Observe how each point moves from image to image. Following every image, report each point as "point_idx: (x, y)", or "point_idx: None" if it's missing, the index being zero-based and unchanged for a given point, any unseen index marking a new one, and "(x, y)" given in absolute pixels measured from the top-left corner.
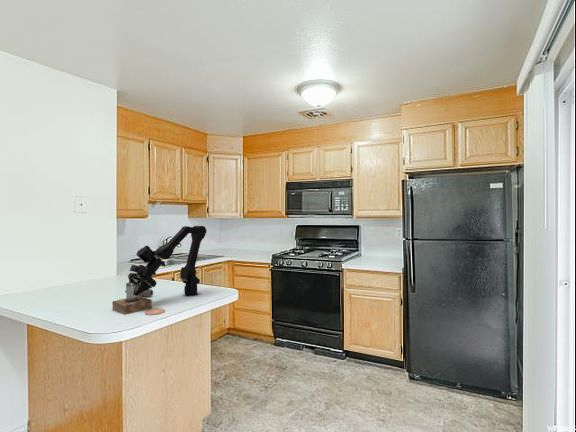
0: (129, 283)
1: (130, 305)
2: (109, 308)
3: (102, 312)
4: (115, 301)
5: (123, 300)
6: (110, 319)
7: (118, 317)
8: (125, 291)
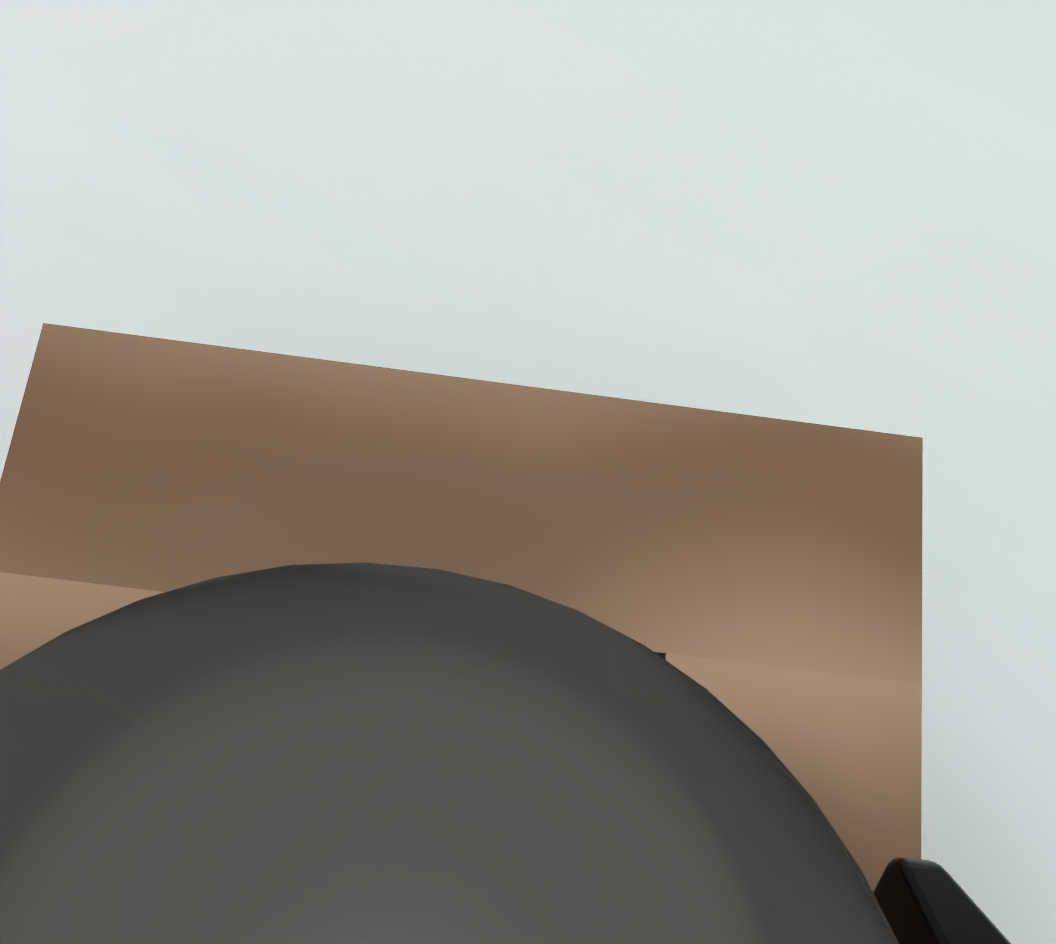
0: (398, 940)
1: (14, 495)
2: (997, 522)
3: (793, 259)
4: (824, 478)
5: (717, 690)
6: (127, 58)
7: (86, 205)
8: (934, 877)
